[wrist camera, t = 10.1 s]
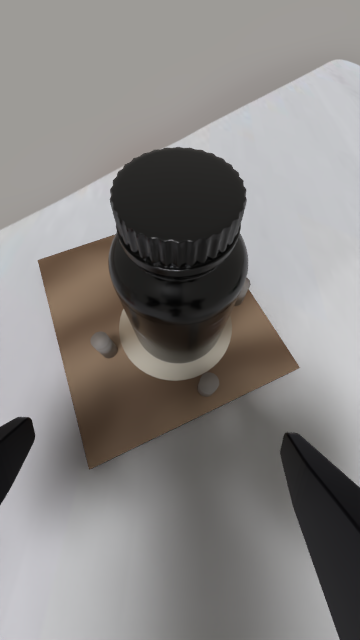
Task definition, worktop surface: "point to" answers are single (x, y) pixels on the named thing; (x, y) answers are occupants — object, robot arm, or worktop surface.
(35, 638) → the worktop surface
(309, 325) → the worktop surface
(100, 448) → the plate
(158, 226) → the supplement bottle
